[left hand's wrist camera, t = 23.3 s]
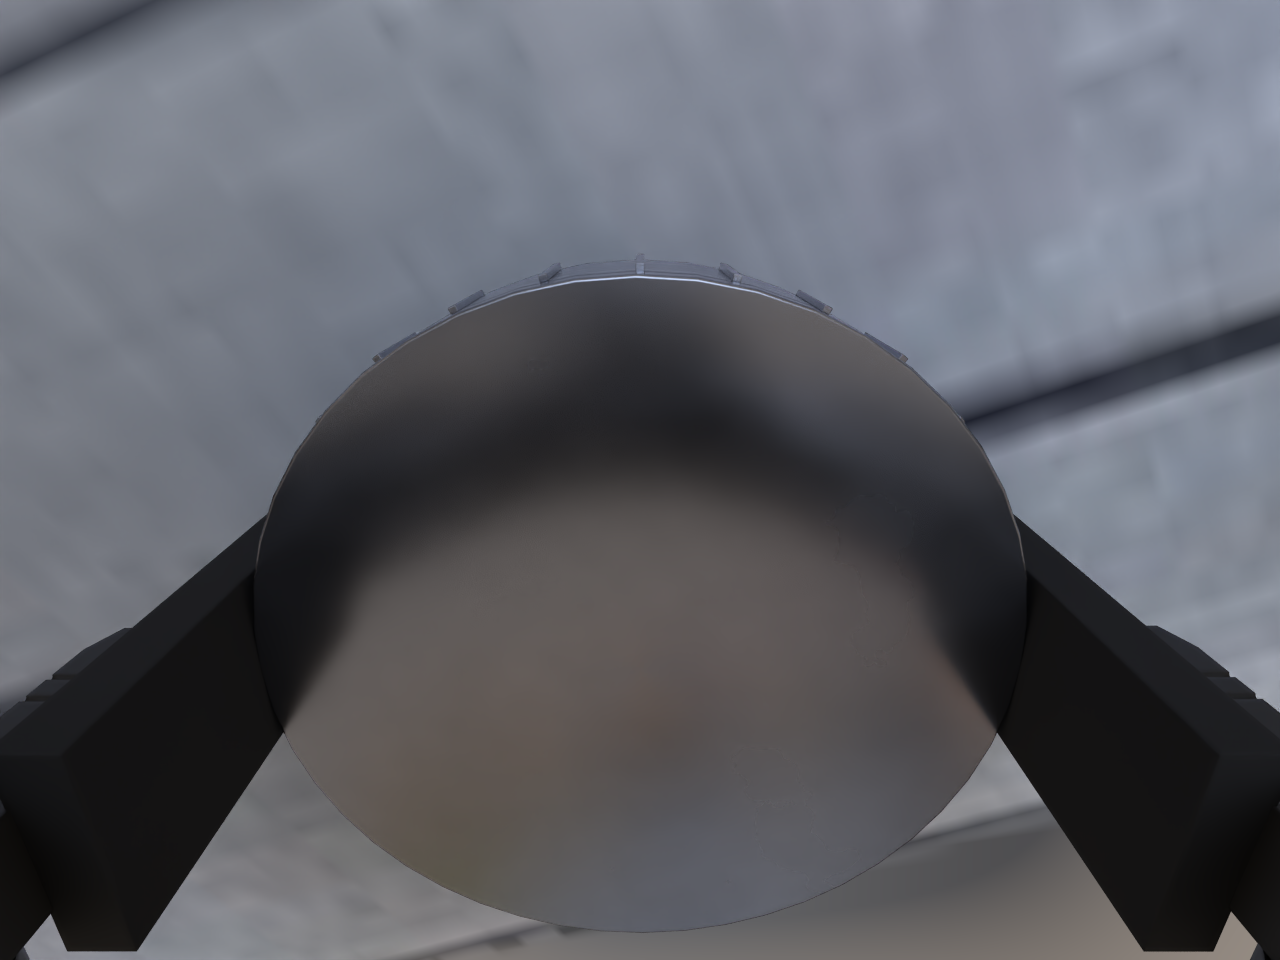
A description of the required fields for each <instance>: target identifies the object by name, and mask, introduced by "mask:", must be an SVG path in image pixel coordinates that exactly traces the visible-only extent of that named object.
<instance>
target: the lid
mask: <svg viewBox="0 0 1280 960" xmlns="http://www.w3.org/2000/svg"><path fill="white" fill-rule="evenodd" d="M448 310H449V311H450V313H451V314H449V315H448V316H446V317H444V318H442V319H441V320H439V321H437V322H436V323H434V324H432V325H431V326H429V327H427V328H426V329H424V330H422V331H421V332H419V333H417V334H416V333H413V334H411V335H410V336H408V337H406V338H405V339H403V340H401V341H399V342H398V343H396V344H394V345H393V346H391V347H389V348H387V349H386V350H384V351H382V352H381V353H379V354H377V355H376V356H375V357H374V358H373V360H374V361H375V362H376V363H375V364H374V365H372V366H371V367H370V368H368V369H367V370H366V371H364V372H363V373H362V374H361V375H360V376H359V377H358V378H357V379H356V380H355V381H354V382H353V383H352V384H351V385H350V386H349V387H348V388H347V389H346V390H345V391H344V392H343V393H342V394H341V395H340V396H339V397H338V398H337V399H336V400H335V401H334V402H333V403H332V404H331V405H330V406H329V407H328V408H327V409H326V410H325V412H324V413H323V414H322V415H321V416H319V417H318V419H317V420H316V424H315V425H314V427H313V428H312V430H311V431H310V432H309V434H308V435H307V437H306V438H305V439H304V441H303V442H302V443H301V445H300V446H299V448H298V449H297V450H296V452H295V454H294V456H293V458H292V460H291V462H290V464H289V466H288V468H287V470H286V472H285V474H284V476H283V477H282V479H281V481H280V483H279V485H278V487H277V489H276V491H275V493H274V495H273V498H272V502H271V505H270V508H269V511H268V514H267V518H266V521H265V524H264V527H263V530H262V533H261V537H260V540H259V546H258V553H257V560H256V567H255V574H254V581H253V630H254V636H255V642H256V648H257V653H258V657H259V662H260V666H261V671H262V675H263V679H264V683H265V686H266V690H267V693H268V696H269V699H270V702H271V705H272V708H273V711H274V713H275V715H276V717H277V719H278V721H279V723H280V725H281V727H282V729H283V732H284V734H285V736H286V738H287V740H288V742H289V744H290V746H291V748H292V750H293V751H294V753H295V754H296V756H297V757H298V758H299V760H300V761H301V763H302V764H303V766H304V767H305V769H306V770H307V772H308V773H309V775H310V776H311V778H312V779H313V781H314V782H315V784H316V785H317V786H318V787H319V788H320V789H321V791H322V792H323V793H324V794H325V795H326V796H327V797H328V799H329V800H330V801H331V802H332V803H333V804H334V805H335V807H336V808H337V809H338V810H339V811H340V812H341V813H342V815H343V816H345V817H346V818H347V819H348V820H349V821H350V822H351V823H352V824H353V825H355V826H356V827H357V828H358V829H359V830H360V831H361V832H362V833H363V834H365V835H366V836H367V837H368V838H369V839H370V840H371V841H372V842H373V843H375V844H376V845H378V846H379V847H380V848H382V849H383V850H385V851H386V852H387V853H389V854H390V855H392V856H393V857H394V858H396V859H397V860H399V861H400V862H401V863H403V864H404V865H406V866H407V867H409V868H411V869H412V870H414V871H416V872H418V873H419V874H421V875H423V876H425V877H426V878H428V879H430V880H432V881H433V882H435V883H437V884H439V885H441V886H442V887H444V888H447V889H449V890H451V891H453V892H456V893H458V894H460V895H463V896H465V897H467V898H469V899H472V900H474V901H476V902H478V903H481V904H484V905H487V906H490V907H493V908H496V909H499V910H502V911H505V912H508V913H511V914H514V915H517V916H520V917H525V918H529V919H534V920H538V921H542V922H547V923H551V924H556V925H560V926H567V927H575V928H583V929H590V930H598V931H614V932H639V933H646V932H665V931H684V930H692V929H699V928H706V927H713V926H720V925H726V924H731V923H735V922H739V921H743V920H747V919H751V918H756V917H760V916H764V915H768V914H770V913H773V912H776V911H779V910H782V909H785V908H788V907H791V906H794V905H797V904H800V903H803V902H805V901H808V900H810V899H812V898H814V897H816V896H819V895H821V894H823V893H825V892H827V891H830V890H832V889H834V888H836V887H838V886H841V885H843V884H845V883H846V882H848V881H850V880H851V879H853V878H855V877H856V876H858V875H860V874H862V873H863V872H865V871H867V870H868V869H870V868H872V867H874V866H875V865H877V864H879V863H880V862H881V861H883V860H884V859H885V858H887V857H888V856H890V855H891V854H892V853H894V852H895V851H896V850H898V849H899V848H900V847H902V846H903V845H904V844H906V843H907V842H909V841H910V840H911V839H912V838H913V837H915V836H916V835H917V834H918V833H919V832H920V831H921V830H922V829H923V828H924V827H925V826H926V825H927V824H929V823H930V822H931V821H932V820H933V819H934V818H935V817H936V816H937V815H938V814H939V813H940V812H941V811H942V810H943V809H944V808H945V807H946V806H947V804H948V803H949V802H950V801H951V800H952V799H953V797H954V796H955V795H956V794H957V793H958V792H959V790H960V789H961V788H962V787H963V786H964V784H965V783H966V782H967V781H968V780H969V778H970V777H971V775H972V774H973V772H974V771H975V769H976V767H977V766H978V764H979V763H980V761H981V760H982V758H983V757H984V755H985V754H986V752H987V750H988V749H989V747H990V746H991V744H992V742H993V740H994V738H995V736H996V734H997V731H998V729H999V727H1000V725H1001V723H1002V721H1003V719H1004V717H1005V715H1006V712H1007V710H1008V708H1009V706H1010V702H1011V699H1012V696H1013V693H1014V689H1015V686H1016V682H1017V678H1018V674H1019V671H1020V667H1021V662H1022V657H1023V653H1024V647H1025V640H1026V633H1027V627H1028V580H1027V574H1026V568H1025V562H1024V556H1023V550H1022V544H1021V538H1020V533H1019V530H1018V527H1017V524H1016V521H1015V518H1014V515H1013V512H1012V509H1011V507H1010V504H1009V501H1008V498H1007V495H1006V492H1005V489H1004V487H1003V485H1002V484H1001V482H1000V480H999V478H998V476H997V474H996V472H995V470H994V468H993V467H992V465H991V463H990V461H989V459H988V457H987V455H986V453H985V451H984V450H983V448H982V446H981V445H980V443H979V442H978V441H977V439H976V438H975V437H974V435H973V434H972V433H971V431H970V430H969V429H968V427H967V426H966V425H965V423H964V422H965V421H964V419H963V418H962V417H961V416H960V415H958V414H957V413H956V412H955V410H954V409H953V408H952V406H951V405H950V404H949V403H948V402H947V401H946V400H945V399H944V398H943V397H942V396H941V395H940V394H939V393H938V392H937V391H935V390H934V389H933V388H932V387H931V386H930V385H929V384H928V383H927V382H926V381H925V380H924V379H923V378H922V377H921V376H920V375H919V374H918V373H917V372H916V371H915V370H914V369H913V368H912V367H910V366H909V365H907V364H906V363H905V362H906V361H907V360H908V358H907V357H906V356H904V355H903V354H902V353H900V352H898V351H896V350H895V349H893V348H891V347H890V346H888V345H886V344H885V343H883V342H881V341H879V340H878V339H876V338H874V337H873V336H871V335H869V334H868V333H864V334H863V333H862V332H860V331H858V330H857V329H855V328H853V327H852V326H850V325H848V324H847V323H845V322H843V321H842V320H840V319H838V318H837V317H835V316H833V315H832V314H830V312H831V311H832V308H831V307H829V306H828V305H826V304H824V303H822V302H821V301H819V300H817V299H815V298H813V297H812V296H810V295H808V294H806V293H805V292H803V291H801V290H798V292H797V294H796V295H794V294H792V293H790V292H788V291H786V290H784V289H782V288H780V287H777V286H774V285H771V284H768V283H766V282H763V281H760V280H757V279H754V278H751V277H748V276H745V275H743V274H740V273H738V272H737V271H736V270H734V269H733V268H732V267H730V266H729V265H728V264H724V263H720V267H719V269H718V268H713V267H708V266H703V265H698V264H692V263H687V262H672V261H655V260H644V254H637V255H636V260H623V261H610V262H597V263H586V264H582V265H577V266H572V267H568V268H563V269H561V265H560V263H556V264H553V265H552V266H550V267H549V268H548V269H546V270H545V271H543V272H542V273H540V274H537V275H534V276H532V277H529V278H526V279H523V280H521V281H518V282H515V283H513V284H510V285H507V286H504V287H502V288H499V289H496V290H494V291H492V292H490V293H488V294H486V295H484V293H483V291H482V290H480V291H478V292H476V293H474V294H473V295H471V296H469V297H467V298H465V299H464V300H462V301H460V302H458V303H456V304H455V305H453V306H451V307H449V308H448Z"/></svg>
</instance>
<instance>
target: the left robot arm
mask: <svg viewBox="0 0 1280 960" xmlns="http://www.w3.org/2000/svg"><path fill="white" fill-rule="evenodd" d="M1013 515H1014V514H1013ZM266 518H267V515H266V516H264V517H263V518H262V519H261V520H260V521H258V522H257V523H256V524H255V525H254V526H252V527H251V528H250V529H249V530H248V531H247V532H245V533H244V534H243V535H242V536H241V537H239V538H238V539H237V540H236V541H235V542H234V543H232V544H231V545H230V546H229V547H228V548H226V549H225V550H224V551H223V552H222V553H220V554H219V555H218V556H217V557H216V558H215V559H213V560H212V561H211V562H210V563H209V564H207V565H206V566H205V567H204V568H203V569H201V570H200V571H199V572H198V573H197V574H196V575H194V576H193V577H192V578H191V579H190V580H188V581H187V582H186V583H185V584H184V585H183V586H181V587H180V588H179V589H178V590H177V591H175V592H174V593H173V594H172V595H171V596H169V597H168V598H167V599H166V600H165V601H164V602H162V603H161V604H160V605H159V606H158V607H156V608H155V609H154V610H153V611H152V612H151V613H149V614H148V615H147V616H146V617H145V618H143V619H142V620H141V621H140V622H139V623H137V624H136V625H135V626H134V627H133V628H124V629H122V630H120V631H118V632H116V633H114V634H112V635H111V636H109V637H107V638H105V639H103V640H101V641H99V642H97V643H95V644H93V645H91V646H90V647H88V648H86V649H84V650H83V651H81V652H80V653H79V654H78V655H76V656H75V657H74V658H73V659H71V660H70V661H69V662H68V663H66V664H65V665H64V666H63V667H62V668H60V669H59V670H58V671H57V672H55V673H54V674H53V677H52V680H45V681H44V682H43V683H42V684H40V685H39V686H38V687H37V688H36V689H34V690H33V691H32V692H31V693H29V694H28V695H27V696H26V701H25V702H18V703H17V704H16V705H15V706H13V707H12V708H11V709H10V710H8V711H7V712H6V713H5V714H3V715H2V716H1V717H0V960H30V959H29V957H28V955H27V952H26V950H25V948H24V945H25V944H26V943H27V942H28V941H29V939H30V938H31V937H32V936H33V934H34V933H35V932H36V931H37V930H38V928H39V927H40V926H41V925H42V924H43V922H44V921H45V920H46V919H47V918H48V916H49V915H50V914H51V915H52V918H53V920H54V922H55V924H56V927H57V929H58V931H59V934H60V936H61V938H62V940H63V943H64V945H65V947H66V949H67V951H137V950H138V949H139V947H140V946H141V944H142V943H143V941H144V940H145V938H146V937H147V935H148V934H149V932H150V931H151V929H152V928H153V926H154V925H155V923H156V922H157V920H158V919H159V917H160V916H161V914H162V913H163V911H164V910H165V908H166V907H167V905H168V904H169V902H170V901H171V899H172V898H173V896H174V895H175V893H176V892H177V890H178V889H179V887H180V886H181V884H182V883H183V881H184V880H185V878H186V877H187V875H188V874H189V873H190V871H191V870H192V868H193V867H194V865H195V864H196V862H197V861H198V859H199V858H200V856H201V855H202V853H203V852H204V850H205V849H206V847H207V846H208V844H209V843H210V841H211V840H212V838H213V837H214V835H215V834H216V832H217V831H218V829H219V828H220V826H221V825H222V823H223V822H224V820H225V819H226V817H227V816H228V814H229V813H230V811H231V810H232V808H233V807H234V805H235V804H236V802H237V801H238V799H239V798H240V796H241V795H242V793H243V792H244V790H245V789H246V787H247V786H248V784H249V783H250V781H251V780H252V778H253V777H254V775H255V774H256V772H257V771H258V769H259V768H260V766H261V765H262V763H263V762H264V760H265V759H266V757H267V756H268V755H269V753H270V752H271V750H272V749H273V747H274V746H275V744H276V743H277V741H278V740H279V738H280V737H281V735H282V734H283V729H282V727H281V725H280V723H279V721H278V719H277V717H276V715H275V713H274V711H273V708H272V705H271V702H270V699H269V696H268V693H267V690H266V686H265V683H264V679H263V675H262V671H261V666H260V662H259V657H258V653H257V648H256V642H255V636H254V630H253V581H254V574H255V567H256V560H257V553H258V546H259V540H260V537H261V533H262V530H263V527H264V524H265V521H266ZM1014 518H1015V521H1016V524H1017V527H1018V530H1019V533H1020V538H1021V544H1022V550H1023V556H1024V562H1025V568H1026V574H1027V580H1028V627H1027V633H1026V640H1025V647H1024V653H1023V657H1022V662H1021V667H1020V671H1019V674H1018V678H1017V682H1016V686H1015V689H1014V693H1013V696H1012V699H1011V702H1010V706H1009V708H1008V710H1007V712H1006V715H1005V717H1004V719H1003V721H1002V723H1001V725H1000V727H999V729H998V731H997V733H998V734H999V736H1000V737H1001V739H1002V740H1003V742H1004V743H1005V745H1006V746H1007V748H1008V749H1009V751H1010V752H1011V754H1012V755H1013V757H1014V758H1015V760H1016V761H1017V763H1018V764H1019V766H1020V767H1021V769H1022V770H1023V772H1024V773H1025V775H1026V776H1027V778H1028V779H1029V781H1030V782H1031V784H1032V785H1033V787H1034V788H1035V790H1036V791H1037V793H1038V794H1039V796H1040V797H1041V799H1042V800H1043V802H1044V803H1045V805H1046V806H1047V808H1048V809H1049V811H1050V812H1051V814H1052V815H1053V817H1054V818H1055V820H1056V821H1057V822H1058V824H1059V825H1060V827H1061V828H1062V830H1063V831H1064V833H1065V834H1066V836H1067V837H1068V839H1069V840H1070V842H1071V843H1072V845H1073V846H1074V848H1075V849H1076V851H1077V852H1078V854H1079V855H1080V857H1081V858H1082V860H1083V861H1084V863H1085V864H1086V866H1087V867H1088V869H1089V870H1090V872H1091V873H1092V875H1093V876H1094V878H1095V879H1096V881H1097V882H1098V884H1099V885H1100V887H1101V888H1102V890H1103V891H1104V893H1105V894H1106V896H1107V897H1108V899H1109V900H1110V902H1111V903H1112V905H1113V906H1114V908H1115V909H1116V911H1117V912H1118V914H1119V915H1120V917H1121V918H1122V920H1123V921H1124V923H1125V924H1126V926H1127V927H1128V929H1129V930H1130V932H1131V933H1132V935H1133V936H1134V937H1135V939H1136V940H1137V942H1138V943H1139V945H1140V946H1141V948H1142V949H1143V951H1207V952H1210V951H1211V952H1212V951H1214V949H1215V946H1216V944H1217V942H1218V940H1219V937H1220V935H1221V933H1222V930H1223V928H1224V926H1225V924H1226V921H1227V919H1228V917H1229V915H1230V912H1232V913H1233V914H1234V915H1235V916H1236V918H1237V919H1238V920H1239V921H1240V922H1241V924H1242V925H1243V926H1244V927H1245V928H1246V930H1247V931H1248V932H1249V933H1250V934H1251V936H1252V937H1253V938H1254V939H1255V940H1256V942H1257V943H1258V944H1257V946H1256V948H1255V950H1254V952H1253V955H1252V957H1251V959H1250V960H1280V713H1279V712H1278V711H1277V710H1276V709H1274V708H1273V707H1272V706H1271V705H1269V704H1268V703H1267V702H1266V701H1264V700H1263V699H1257V698H1256V696H1255V694H1256V693H1254V692H1253V691H1252V690H1251V689H1249V688H1248V687H1247V686H1246V685H1244V684H1243V683H1242V682H1241V681H1239V680H1238V679H1237V678H1236V677H1230V676H1229V672H1228V671H1227V670H1226V669H1224V668H1223V667H1222V666H1221V665H1219V664H1218V663H1217V662H1216V661H1214V660H1213V659H1212V658H1211V657H1210V656H1208V655H1207V654H1206V653H1205V652H1203V651H1202V650H1201V649H1200V648H1198V647H1197V646H1195V645H1193V644H1191V643H1189V642H1187V641H1185V640H1183V639H1181V638H1179V637H1177V636H1175V635H1174V634H1172V633H1170V632H1168V631H1166V630H1164V629H1162V628H1160V627H1158V626H1145V625H1144V624H1143V623H1142V622H1141V621H1140V620H1138V619H1137V618H1136V617H1135V616H1134V615H1132V614H1131V613H1130V612H1129V611H1128V610H1126V609H1125V608H1124V607H1123V606H1122V605H1121V604H1119V603H1118V602H1117V601H1116V600H1115V599H1113V598H1112V597H1111V596H1110V595H1109V594H1107V593H1106V592H1105V591H1104V590H1103V589H1102V588H1100V587H1099V586H1098V585H1097V584H1096V583H1094V582H1093V581H1092V580H1091V579H1090V578H1089V577H1087V576H1086V575H1085V574H1084V573H1083V572H1081V571H1080V570H1079V569H1078V568H1077V567H1075V566H1074V565H1073V564H1072V563H1071V562H1070V561H1068V560H1067V559H1066V558H1065V557H1064V556H1062V555H1061V554H1060V553H1059V552H1058V551H1056V550H1055V549H1054V548H1053V547H1052V546H1051V545H1049V544H1048V543H1047V542H1046V541H1045V540H1043V539H1042V538H1041V537H1040V536H1039V535H1038V534H1036V533H1035V532H1034V531H1033V530H1032V529H1030V528H1029V527H1028V526H1027V525H1026V524H1024V523H1023V522H1022V521H1021V520H1020V519H1019V518H1017V517H1016V516H1015V515H1014Z"/></svg>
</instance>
